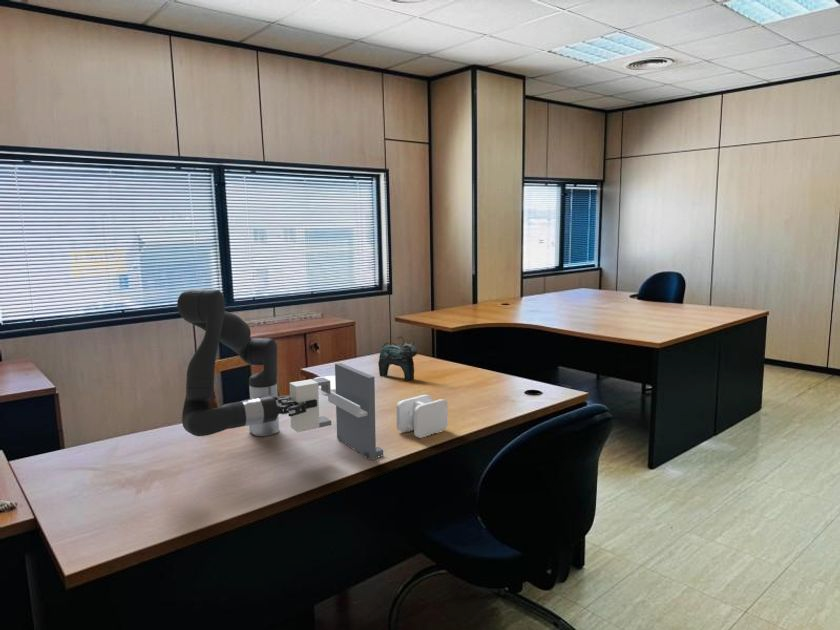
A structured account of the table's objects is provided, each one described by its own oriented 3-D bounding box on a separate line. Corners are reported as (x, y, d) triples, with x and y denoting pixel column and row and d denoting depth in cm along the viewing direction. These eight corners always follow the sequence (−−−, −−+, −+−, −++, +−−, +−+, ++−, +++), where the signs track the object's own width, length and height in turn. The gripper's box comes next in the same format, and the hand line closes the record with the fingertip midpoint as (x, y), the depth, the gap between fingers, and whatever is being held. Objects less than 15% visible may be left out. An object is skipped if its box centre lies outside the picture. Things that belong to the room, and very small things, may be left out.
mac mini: (311, 383, 262) (311, 378, 262) (357, 378, 271) (357, 372, 270) (323, 396, 242) (323, 390, 242) (372, 390, 251) (372, 384, 250)
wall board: (328, 440, 191) (325, 365, 187) (350, 435, 196) (348, 361, 192) (360, 462, 173) (359, 379, 169) (384, 456, 178) (382, 375, 174)
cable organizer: (415, 441, 190) (415, 408, 189) (395, 433, 198) (395, 400, 196) (448, 431, 200) (448, 398, 198) (428, 423, 208) (427, 392, 206)
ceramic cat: (418, 379, 267) (418, 337, 264) (410, 382, 262) (410, 339, 258) (383, 373, 277) (383, 333, 274) (375, 376, 272) (375, 335, 269)
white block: (290, 427, 173) (289, 382, 171) (324, 420, 180) (323, 377, 177) (297, 432, 169) (296, 386, 167) (331, 425, 175) (330, 380, 173)
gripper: (266, 404, 157) (322, 394, 167) (248, 392, 169) (302, 383, 179) (267, 430, 159) (323, 418, 168) (250, 416, 170) (303, 406, 180)
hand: (312, 400), depth 174 cm, fingers closed on white block, 5 cm apart
